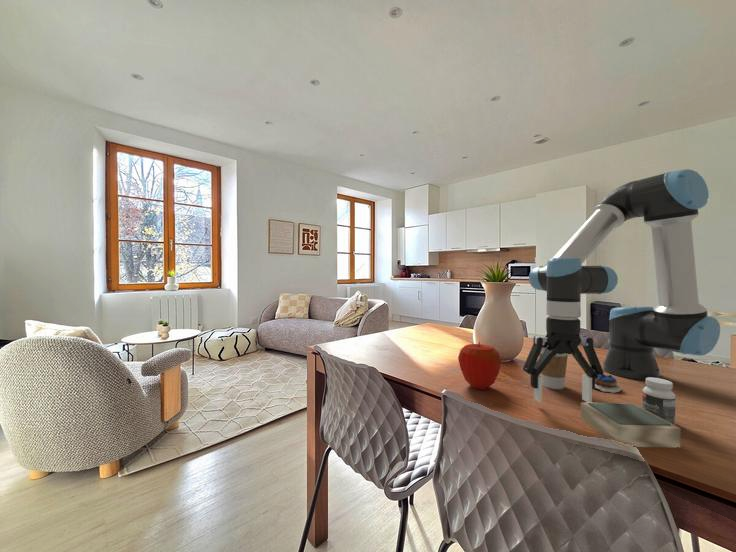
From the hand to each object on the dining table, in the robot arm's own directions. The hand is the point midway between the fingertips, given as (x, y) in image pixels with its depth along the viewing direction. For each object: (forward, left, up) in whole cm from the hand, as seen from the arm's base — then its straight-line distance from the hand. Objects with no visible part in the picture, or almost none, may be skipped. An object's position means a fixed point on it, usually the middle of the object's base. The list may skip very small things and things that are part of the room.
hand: (562, 400), depth 81 cm
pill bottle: (-18, +7, -2) cm, 19 cm away
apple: (+17, -14, -2) cm, 22 cm away
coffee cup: (-6, -16, -2) cm, 17 cm away
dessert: (-20, -16, -3) cm, 26 cm away
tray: (-7, +12, -2) cm, 14 cm away
